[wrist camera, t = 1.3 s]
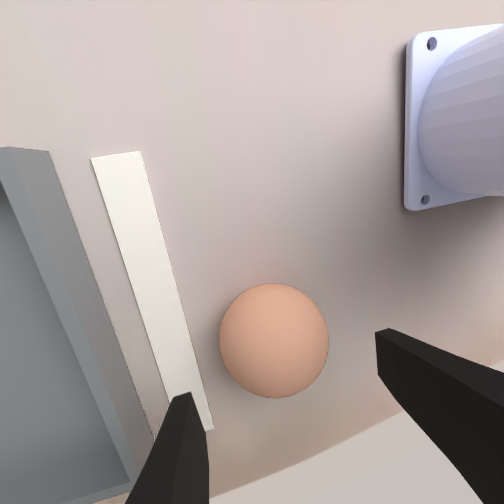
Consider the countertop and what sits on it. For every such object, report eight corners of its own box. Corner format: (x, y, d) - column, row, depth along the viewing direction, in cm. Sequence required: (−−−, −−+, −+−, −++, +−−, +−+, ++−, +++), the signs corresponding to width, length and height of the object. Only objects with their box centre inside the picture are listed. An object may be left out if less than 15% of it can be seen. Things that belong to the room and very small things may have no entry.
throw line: (140, 150, 12) (140, 150, 12) (214, 427, 17) (214, 428, 17) (91, 158, 12) (90, 158, 12) (181, 437, 17) (181, 438, 17)
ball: (299, 259, 15) (347, 301, 10) (307, 338, 16) (353, 406, 12) (206, 280, 14) (212, 336, 9) (224, 360, 16) (237, 442, 11)
